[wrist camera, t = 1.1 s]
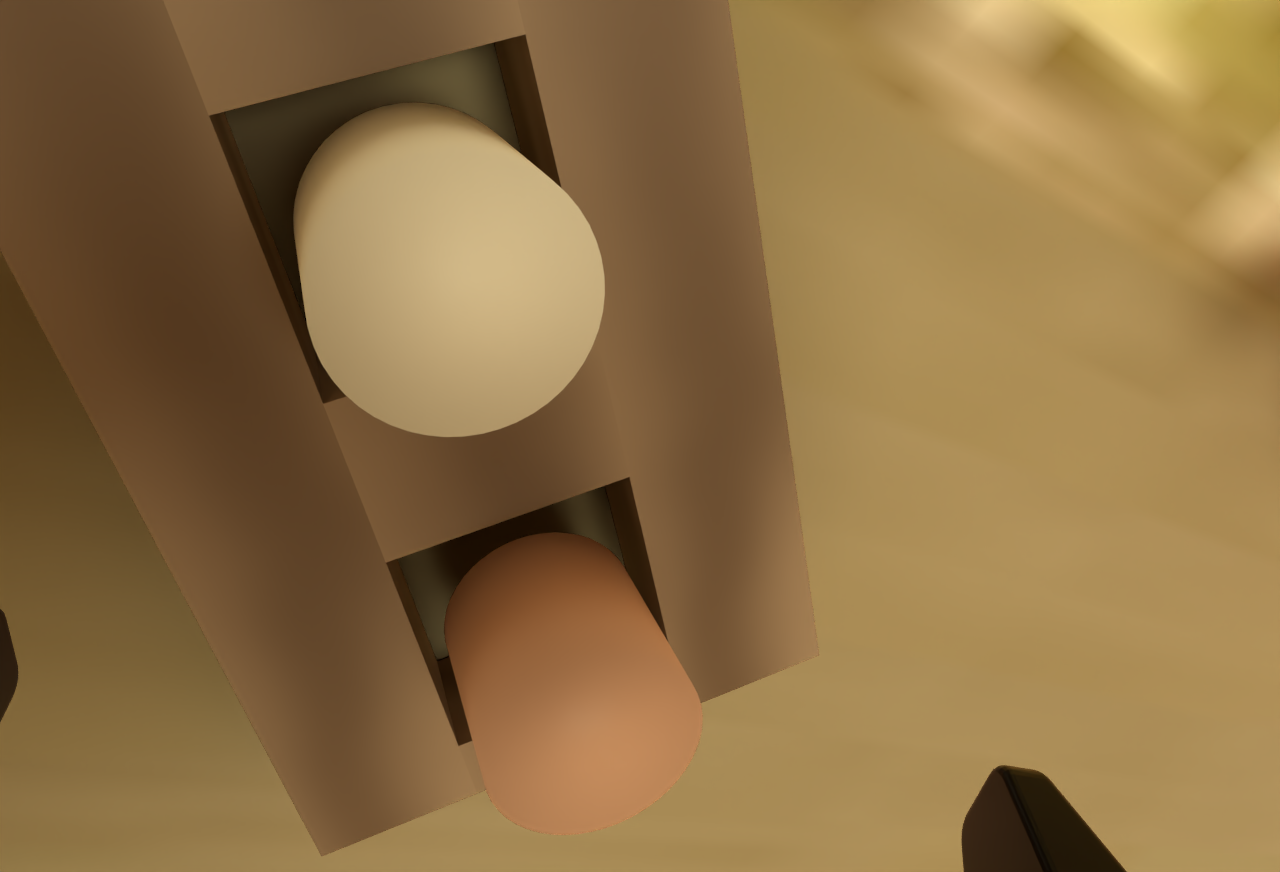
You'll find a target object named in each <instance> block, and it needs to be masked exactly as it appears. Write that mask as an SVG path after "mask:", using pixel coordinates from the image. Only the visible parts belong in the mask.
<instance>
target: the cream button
mask: <svg viewBox="0 0 1280 872" xmlns="http://www.w3.org/2000/svg"><path fill="white" fill-rule="evenodd" d="M293 224H294V237H295V244H296V251H297V258H298V265H299V272H300V280H301V287H302V294H303V301H304V308H305V315H306V321H307V327H308V331H309V334H310V337H311V340H312V344H313V347H314V349H315V351H316V353H317V355H318V357H319V360H320V362H321V364H322V365H323V367H324V368H325V370H326V371H327V373H328V375H329V376H330V378H331V379H332V380H333V382H334V383H335V384H336V385H337V386H338V387H339V388H340V390H341V391H342V392H343V393H344V394H345V395H346V396H347V397H348V398H349V399H351V400H352V401H353V402H354V403H355V404H356V405H357V406H359V407H360V408H361V409H363V410H364V411H366V412H367V413H369V414H370V415H372V416H373V417H375V418H377V419H379V420H381V421H383V422H385V423H387V424H389V425H391V426H394V427H397V428H400V429H403V430H406V431H409V432H413V433H418V434H423V435H428V436H439V437H464V436H471V435H478V434H484V433H487V432H491V431H495V430H498V429H501V428H504V427H506V426H509V425H511V424H514V423H516V422H518V421H520V420H522V419H524V418H526V417H528V416H530V415H531V414H533V413H535V412H536V411H538V410H539V409H540V408H542V407H543V406H545V405H546V404H548V403H549V402H550V401H551V400H552V399H553V398H554V397H556V396H557V395H558V394H559V393H560V392H561V391H562V390H563V389H564V388H565V387H566V386H567V384H568V383H569V382H570V381H571V380H572V379H573V378H574V376H575V375H576V373H577V372H578V371H579V369H580V368H581V366H582V365H583V363H584V362H585V360H586V358H587V356H588V354H589V352H590V350H591V348H592V346H593V344H594V341H595V338H596V336H597V333H598V330H599V327H600V322H601V318H602V314H603V307H604V298H605V278H604V270H603V264H602V258H601V254H600V251H599V248H598V244H597V241H596V238H595V236H594V234H593V232H592V230H591V227H590V225H589V223H588V222H587V220H586V218H585V217H584V215H583V213H582V212H581V210H580V209H579V207H578V206H577V205H576V204H575V202H574V201H573V200H572V199H571V198H570V196H569V195H568V194H567V193H566V192H565V191H564V190H563V189H562V188H561V187H559V186H558V185H557V184H556V183H555V182H554V181H553V180H552V179H551V178H549V177H548V176H547V175H546V174H545V173H543V172H542V171H541V170H540V169H539V168H537V167H536V166H535V165H534V164H533V163H531V162H530V161H529V160H528V159H527V158H525V157H524V156H523V155H522V154H521V153H519V152H518V151H517V150H516V149H515V148H513V147H512V146H511V145H510V144H509V143H507V142H506V141H505V140H504V139H503V138H501V137H500V136H499V135H498V134H497V133H495V132H494V131H493V130H492V129H490V128H489V127H487V126H486V125H485V124H483V123H482V122H480V121H479V120H477V119H475V118H473V117H471V116H469V115H467V114H465V113H463V112H461V111H458V110H455V109H452V108H449V107H446V106H441V105H436V104H431V103H419V102H410V103H397V104H391V105H386V106H381V107H379V108H376V109H373V110H370V111H367V112H365V113H363V114H361V115H359V116H357V117H355V118H353V119H351V120H349V121H348V122H346V123H345V124H343V125H342V126H341V127H339V128H338V129H337V130H335V131H334V132H333V133H332V134H331V135H330V136H329V137H328V138H327V139H326V140H325V141H324V142H323V143H322V144H321V146H320V147H319V148H318V149H317V150H316V152H315V153H314V155H313V156H312V158H311V160H310V161H309V163H308V165H307V166H306V168H305V170H304V173H303V175H302V178H301V180H300V182H299V186H298V190H297V193H296V197H295V204H294V213H293Z"/></svg>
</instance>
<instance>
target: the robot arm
mask: <svg viewBox="0 0 1280 872" xmlns="http://www.w3.org/2000/svg"><path fill="white" fill-rule="evenodd" d="M17 681H18V665H17V661H16V657H15V653H14V649H13V644H12V640H11V636H10V632H9V628H8V624H7V620H6V617H5V614H4V612H3V611H2V610H1V609H0V722H1V720H2V718H3V716H4V714H5V712H6V709H7V707H8V705H9V703H10V701H11V699H12V697H13V695H14V692H15V689H16V686H17ZM962 855H963V868H964V872H1126V870H1125V869H1124V868H1123V867H1122V866H1121V864H1120V863H1119V862H1118V861H1117V860H1116V858H1115V857H1114V856H1113V855H1112V854H1111V852H1110V851H1109V850H1108V849H1107V848H1106V846H1105V845H1104V844H1103V843H1102V842H1101V840H1100V839H1099V838H1098V837H1097V836H1096V834H1095V833H1094V832H1093V831H1092V830H1091V828H1090V827H1089V826H1088V825H1087V824H1086V822H1085V821H1084V820H1083V819H1082V818H1081V816H1080V815H1079V814H1078V813H1077V812H1076V810H1075V809H1074V808H1073V807H1072V806H1071V804H1070V803H1069V802H1068V801H1067V800H1066V798H1065V797H1064V796H1063V795H1062V794H1061V792H1060V791H1059V790H1058V789H1057V788H1056V786H1055V785H1054V784H1053V783H1052V782H1051V780H1050V779H1049V778H1048V777H1046V776H1045V775H1044V774H1043V773H1041V772H1039V771H1036V770H1032V769H1025V768H1019V767H1013V766H1007V765H1001V766H998V767H997V768H995V769H993V771H992V772H991V773H990V775H989V777H988V778H987V780H986V782H985V784H984V785H983V787H982V789H981V791H980V792H979V794H978V796H977V797H976V799H975V801H974V803H973V804H972V806H971V808H970V810H969V811H968V813H967V815H966V817H965V820H964V824H963V829H962Z"/></svg>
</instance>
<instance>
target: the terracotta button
mask: <svg viewBox="0 0 1280 872" xmlns="http://www.w3.org/2000/svg"><path fill="white" fill-rule="evenodd" d="M444 634H445V642H446V646H447V649H448V653H449V657H450V660H451V664H452V668H453V671H454V675H455V679H456V682H457V686H458V690H459V693H460V697H461V701H462V704H463V708H464V712H465V715H466V719H467V723H468V726H469V730H470V734H471V737H472V741H473V745H474V748H475V752H476V756H477V759H478V763H479V767H480V770H481V774H482V778H483V781H484V785H485V788H486V792H487V794H488V796H489V798H490V800H491V801H492V803H493V804H494V805H495V807H496V808H497V809H498V811H500V812H501V813H502V814H503V815H504V816H505V817H506V818H508V819H509V820H511V821H512V822H514V823H515V824H517V825H519V826H522V827H524V828H526V829H529V830H532V831H536V832H540V833H546V834H555V835H570V834H581V833H587V832H592V831H596V830H600V829H603V828H607V827H609V826H612V825H615V824H618V823H620V822H622V821H624V820H626V819H628V818H631V817H632V816H634V815H636V814H638V813H639V812H641V811H643V810H644V809H646V808H647V807H649V806H650V805H651V804H653V803H654V802H656V801H657V800H658V799H659V798H660V797H661V796H663V795H664V794H665V793H666V792H667V791H668V790H669V789H670V788H671V787H672V786H673V785H674V784H675V783H676V782H677V780H678V779H679V778H680V776H681V775H682V774H683V773H684V771H685V770H686V768H687V766H688V765H689V763H690V762H691V760H692V758H693V756H694V753H695V751H696V749H697V746H698V743H699V740H700V736H701V731H702V718H703V715H702V707H701V702H700V699H699V696H698V693H697V692H696V690H695V688H694V686H693V684H692V682H691V681H690V679H689V677H688V675H687V674H686V672H685V670H684V669H683V667H682V665H681V664H680V662H679V660H678V658H677V657H676V655H675V653H674V652H673V650H672V648H671V646H670V645H669V643H668V641H667V640H666V638H665V636H664V634H663V633H662V631H661V629H660V628H659V626H658V624H657V622H656V621H655V619H654V617H653V616H652V614H651V612H650V610H649V609H648V607H647V605H646V604H645V602H644V600H643V598H642V597H641V595H640V593H639V592H638V590H637V588H636V587H635V585H634V583H633V581H632V580H631V578H630V576H629V575H628V573H627V571H626V569H625V568H624V566H623V564H622V563H621V562H620V560H619V559H618V558H617V557H616V556H615V555H614V554H613V553H612V552H611V551H610V550H609V549H608V548H606V547H605V546H603V545H602V544H600V543H598V542H596V541H594V540H592V539H590V538H587V537H584V536H580V535H576V534H570V533H558V532H553V533H541V534H535V535H530V536H526V537H523V538H519V539H516V540H514V541H512V542H509V543H507V544H504V545H503V546H501V547H499V548H497V549H495V550H494V551H492V552H491V553H489V554H488V555H486V556H485V557H484V558H482V559H481V560H480V561H479V562H478V563H476V564H475V565H474V566H473V567H472V568H471V569H470V570H469V571H468V573H467V574H466V575H465V576H464V577H463V578H462V580H461V581H460V583H459V584H458V586H457V587H456V589H455V591H454V593H453V595H452V597H451V599H450V602H449V604H448V607H447V611H446V616H445V623H444Z"/></svg>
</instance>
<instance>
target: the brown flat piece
mask: <svg viewBox="0 0 1280 872" xmlns="http://www.w3.org/2000/svg"><path fill="white" fill-rule="evenodd" d="M493 42H494V44H495V48H496V52H497V56H498V60H499V64H500V68H501V72H502V76H503V80H504V84H505V88H506V92H507V96H508V100H509V104H510V108H511V112H512V116H513V120H514V124H515V128H516V132H517V136H518V140H519V144H520V148H521V152H522V155H523V156H524V157H525V158H527V159H528V160H529V161H530V162H531V163H533V164H534V165H535V166H536V167H537V168H539V169H540V170H541V171H542V172H543V173H545V174H546V175H547V176H548V177H549V178H551V179H552V180H553V181H554V182H555V183H556V184H557V185H558V186H559V187H561V188H562V189H563V190H564V191H565V192H566V193H567V194H568V195H569V196H570V198H571V199H572V200H573V201H574V202H575V204H576V205H577V206H578V207H579V209H580V210H581V212H582V213H583V215H584V217H585V218H586V220H587V222H588V223H589V225H590V227H591V230H592V232H593V234H594V236H595V238H596V241H597V244H598V248H599V251H600V254H601V258H602V264H603V270H604V278H605V298H604V307H603V314H602V318H601V322H600V327H599V330H598V333H597V336H596V338H595V341H594V344H593V346H592V348H591V350H590V352H589V354H588V356H587V358H586V360H585V362H584V363H583V365H582V366H581V368H580V369H579V371H578V372H577V373H576V375H575V376H574V378H573V379H572V380H571V381H570V382H569V383H568V384H567V386H566V387H565V388H564V389H563V390H562V391H561V392H560V393H559V394H558V395H557V396H556V397H554V398H553V399H552V400H551V401H550V402H549V403H548V404H546V405H545V406H543V407H542V408H540V409H539V410H538V411H536V412H535V413H533V414H531V415H530V416H528V417H526V418H524V419H522V420H520V421H518V422H516V423H514V424H511V425H509V426H506V427H504V428H501V429H498V430H495V431H491V432H487V433H484V434H478V435H471V436H464V437H439V436H428V435H423V434H418V433H413V432H409V431H406V430H403V429H400V428H397V427H394V426H391V425H389V424H387V423H385V422H383V421H381V420H379V419H377V418H375V417H373V416H372V415H370V414H369V413H367V412H366V411H364V410H363V409H361V408H360V407H359V406H357V405H356V404H355V403H354V402H353V401H352V400H351V399H349V398H348V397H347V396H346V395H345V394H344V393H343V392H342V391H341V390H340V388H339V387H338V386H337V385H336V384H335V383H334V382H333V380H332V379H331V378H330V376H329V375H328V373H327V371H326V370H325V368H324V367H323V365H322V364H321V362H320V360H319V357H318V355H317V353H316V351H315V349H314V347H313V344H312V340H311V337H310V334H309V331H308V328H307V325H306V323H305V320H304V317H303V315H302V312H301V310H300V307H299V305H298V302H297V299H296V297H295V294H294V292H293V289H292V286H291V284H290V281H289V279H288V276H287V274H286V271H285V268H284V266H283V263H282V261H281V258H280V256H279V253H278V250H277V248H276V245H275V243H274V240H273V238H272V235H271V232H270V230H269V227H268V225H267V222H266V220H265V217H264V214H263V212H262V209H261V207H260V204H259V201H258V199H257V196H256V194H255V191H254V189H253V186H252V183H251V181H250V178H249V176H248V173H247V171H246V168H245V165H244V163H243V160H242V158H241V155H240V153H239V150H238V147H237V145H236V142H235V140H234V137H233V134H232V132H231V129H230V127H229V124H228V122H227V119H226V116H225V114H224V112H225V111H229V110H232V109H236V108H240V107H244V106H248V105H252V104H256V103H260V102H264V101H268V100H271V99H275V98H279V97H283V96H287V95H291V94H295V93H299V92H303V91H306V90H310V89H314V88H318V87H322V86H326V85H330V84H334V83H338V82H342V81H345V80H349V79H353V78H357V77H361V76H365V75H369V74H373V73H377V72H380V71H384V70H388V69H392V68H396V67H400V66H404V65H408V64H412V63H416V62H419V61H423V60H427V59H431V58H435V57H439V56H443V55H447V54H451V53H454V52H458V51H462V50H466V49H470V48H474V47H478V46H482V45H486V44H490V43H493ZM0 251H1V253H2V255H3V257H4V259H5V260H6V262H7V264H8V266H9V268H10V270H11V272H12V274H13V276H14V277H15V279H16V281H17V283H18V285H19V287H20V289H21V291H22V293H23V294H24V296H25V298H26V300H27V302H28V304H29V306H30V308H31V309H32V311H33V313H34V315H35V317H36V319H37V321H38V323H39V325H40V326H41V328H42V330H43V332H44V334H45V336H46V338H47V340H48V342H49V343H50V345H51V347H52V349H53V351H54V353H55V355H56V357H57V359H58V360H59V362H60V364H61V366H62V368H63V370H64V372H65V374H66V375H67V377H68V379H69V381H70V383H71V385H72V387H73V389H74V391H75V392H76V394H77V396H78V398H79V400H80V402H81V404H82V406H83V408H84V409H85V411H86V413H87V415H88V417H89V419H90V421H91V423H92V425H93V426H94V428H95V430H96V432H97V434H98V436H99V438H100V440H101V441H102V443H103V445H104V447H105V449H106V451H107V453H108V455H109V457H110V458H111V460H112V462H113V464H114V466H115V468H116V470H117V472H118V474H119V475H120V477H121V479H122V481H123V483H124V485H125V487H126V489H127V491H128V492H129V494H130V496H131V498H132V500H133V502H134V504H135V506H136V507H137V509H138V511H139V513H140V515H141V517H142V519H143V521H144V523H145V524H146V526H147V528H148V530H149V532H150V534H151V536H152V538H153V540H154V541H155V543H156V545H157V547H158V549H159V551H160V553H161V555H162V557H163V558H164V560H165V562H166V564H167V566H168V568H169V570H170V572H171V573H172V575H173V577H174V579H175V581H176V583H177V585H178V587H179V589H180V590H181V592H182V594H183V596H184V598H185V600H186V602H187V604H188V606H189V607H190V609H191V611H192V613H193V615H194V617H195V619H196V621H197V623H198V624H199V626H200V628H201V630H202V632H203V634H204V636H205V638H206V639H207V641H208V643H209V645H210V647H211V649H212V651H213V653H214V655H215V656H216V658H217V660H218V662H219V664H220V666H221V668H222V670H223V672H224V673H225V675H226V677H227V679H228V681H229V683H230V685H231V687H232V689H233V690H234V692H235V694H236V696H237V698H238V700H239V702H240V704H241V705H242V707H243V709H244V711H245V713H246V715H247V717H248V719H249V721H250V722H251V724H252V726H253V728H254V730H255V732H256V734H257V736H258V738H259V739H260V741H261V743H262V745H263V747H264V749H265V751H266V753H267V755H268V756H269V758H270V760H271V762H272V764H273V766H274V768H275V770H276V772H277V773H278V775H279V777H280V779H281V781H282V783H283V785H284V787H285V788H286V790H287V792H288V794H289V796H290V798H291V800H292V802H293V804H294V805H295V807H296V809H297V811H298V813H299V815H300V817H301V819H302V821H303V822H304V824H305V826H306V828H307V830H308V832H309V834H310V836H311V838H312V839H313V841H314V843H315V845H316V847H317V849H318V851H319V853H320V854H321V856H324V855H326V854H329V853H331V852H334V851H336V850H339V849H341V848H344V847H346V846H349V845H351V844H354V843H356V842H359V841H361V840H364V839H366V838H369V837H371V836H373V835H376V834H378V833H381V832H383V831H386V830H388V829H391V828H393V827H396V826H398V825H401V824H403V823H406V822H408V821H411V820H413V819H416V818H418V817H420V816H423V815H425V814H428V813H430V812H433V811H435V810H438V809H440V808H443V807H445V806H448V805H450V804H453V803H455V802H458V801H460V800H463V799H465V798H467V797H470V796H472V795H475V794H477V793H480V792H482V791H485V790H486V788H485V785H484V781H483V778H482V774H481V770H480V767H479V763H478V759H477V756H476V752H475V748H474V745H473V741H472V737H471V734H470V730H469V726H468V723H467V719H466V715H465V712H464V708H463V704H462V701H461V697H460V693H459V690H458V686H457V682H456V679H455V675H454V671H453V668H452V664H451V660H450V657H448V658H445V659H442V660H440V661H437V660H436V657H435V655H434V652H433V650H432V647H431V645H430V642H429V639H428V637H427V634H426V632H425V629H424V627H423V624H422V621H421V619H420V616H419V614H418V611H417V609H416V606H415V603H414V601H413V598H412V596H411V593H410V590H409V588H408V585H407V583H406V580H405V578H404V575H403V572H402V570H401V567H400V565H399V562H398V560H397V559H398V558H401V557H404V556H406V555H409V554H412V553H415V552H418V551H421V550H423V549H426V548H429V547H432V546H435V545H438V544H440V543H443V542H446V541H449V540H452V539H455V538H457V537H460V536H463V535H466V534H469V533H472V532H474V531H477V530H480V529H483V528H486V527H489V526H492V525H494V524H497V523H500V522H503V521H506V520H509V519H511V518H514V517H517V516H520V515H523V514H526V513H528V512H531V511H534V510H537V509H540V508H543V507H545V506H548V505H551V504H554V503H557V502H560V501H562V500H565V499H568V498H571V497H574V496H577V495H579V494H582V493H585V492H588V491H591V490H594V489H597V488H599V487H602V486H605V487H606V491H607V495H608V499H609V503H610V507H611V511H612V515H613V519H614V523H615V527H616V531H617V535H618V539H619V543H620V547H621V551H622V555H623V559H624V563H625V567H626V571H627V573H628V575H629V576H630V578H631V580H632V581H633V583H634V585H635V587H636V588H637V590H638V592H639V593H640V595H641V597H642V598H643V600H644V602H645V604H646V605H647V607H648V609H649V610H650V612H651V614H652V616H653V617H654V619H655V621H656V622H657V624H658V626H659V628H660V629H661V631H662V633H663V634H664V636H665V638H666V640H667V641H668V643H669V645H670V646H671V648H672V650H673V652H674V653H675V655H676V657H677V658H678V660H679V662H680V664H681V665H682V667H683V669H684V670H685V672H686V674H687V675H688V677H689V679H690V681H691V682H692V684H693V686H694V688H695V690H696V692H697V693H698V696H699V699H700V702H701V703H702V702H705V701H707V700H710V699H712V698H715V697H717V696H720V695H722V694H725V693H727V692H730V691H732V690H735V689H737V688H740V687H742V686H744V685H747V684H749V683H752V682H754V681H757V680H759V679H762V678H764V677H767V676H769V675H772V674H774V673H777V672H779V671H782V670H784V669H786V668H789V667H791V666H794V665H796V664H799V663H801V662H804V661H806V660H809V659H811V658H814V657H816V656H819V649H818V642H817V635H816V628H815V621H814V614H813V606H812V599H811V592H810V585H809V578H808V570H807V563H806V556H805V549H804V542H803V535H802V527H801V520H800V513H799V506H798V499H797V492H796V484H795V477H794V470H793V463H792V456H791V449H790V441H789V434H788V427H787V420H786V413H785V405H784V398H783V391H782V384H781V377H780V370H779V362H778V355H777V348H776V341H775V334H774V327H773V319H772V312H771V305H770V298H769V291H768V283H767V276H766V269H765V262H764V255H763V248H762V240H761V233H760V226H759V219H758V212H757V205H756V197H755V190H754V183H753V176H752V169H751V162H750V154H749V147H748V140H747V133H746V126H745V118H744V111H743V104H742V97H741V90H740V83H739V75H738V68H737V61H736V54H735V47H734V40H733V32H732V25H731V18H730V11H729V4H728V0H0Z"/></svg>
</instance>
